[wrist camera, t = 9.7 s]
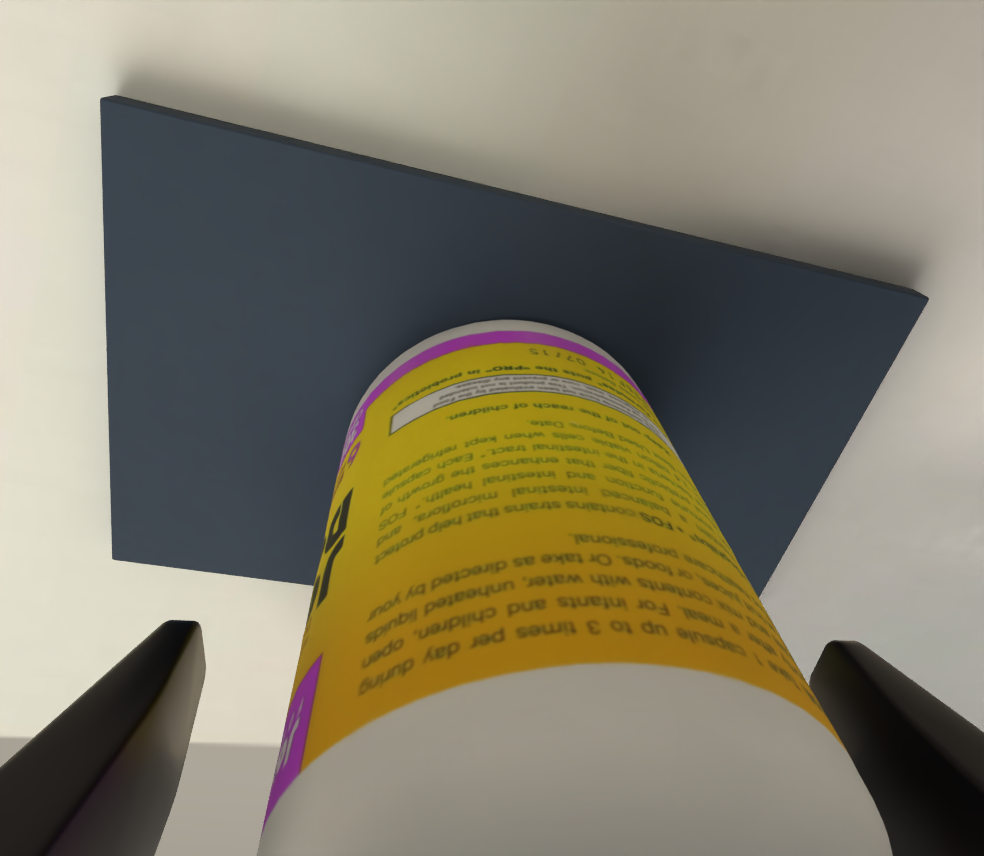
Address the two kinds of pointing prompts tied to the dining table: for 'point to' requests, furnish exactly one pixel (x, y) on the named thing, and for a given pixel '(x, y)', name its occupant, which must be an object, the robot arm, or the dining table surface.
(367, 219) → the placemat
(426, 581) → the supplement bottle
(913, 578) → the dining table surface
